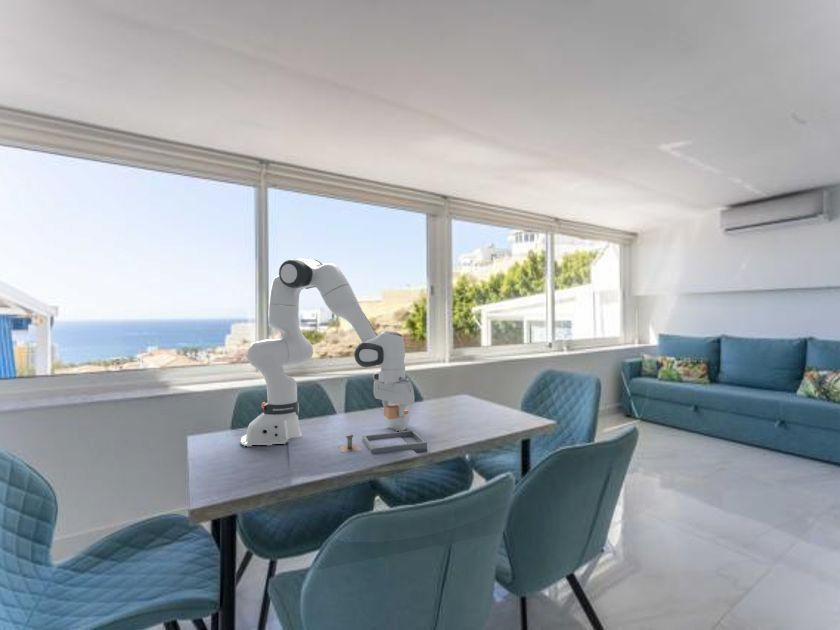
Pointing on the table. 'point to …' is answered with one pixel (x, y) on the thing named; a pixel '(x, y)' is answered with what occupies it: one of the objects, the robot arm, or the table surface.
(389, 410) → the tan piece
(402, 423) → the mug
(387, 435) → the tray
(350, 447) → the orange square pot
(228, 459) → the table surface
